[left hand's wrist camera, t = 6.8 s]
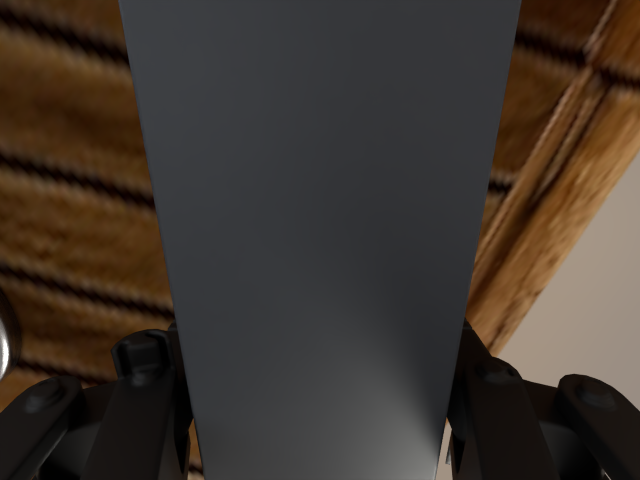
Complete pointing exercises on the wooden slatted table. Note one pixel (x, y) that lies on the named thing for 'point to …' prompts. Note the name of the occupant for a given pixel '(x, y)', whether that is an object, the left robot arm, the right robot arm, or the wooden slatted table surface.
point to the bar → (319, 218)
